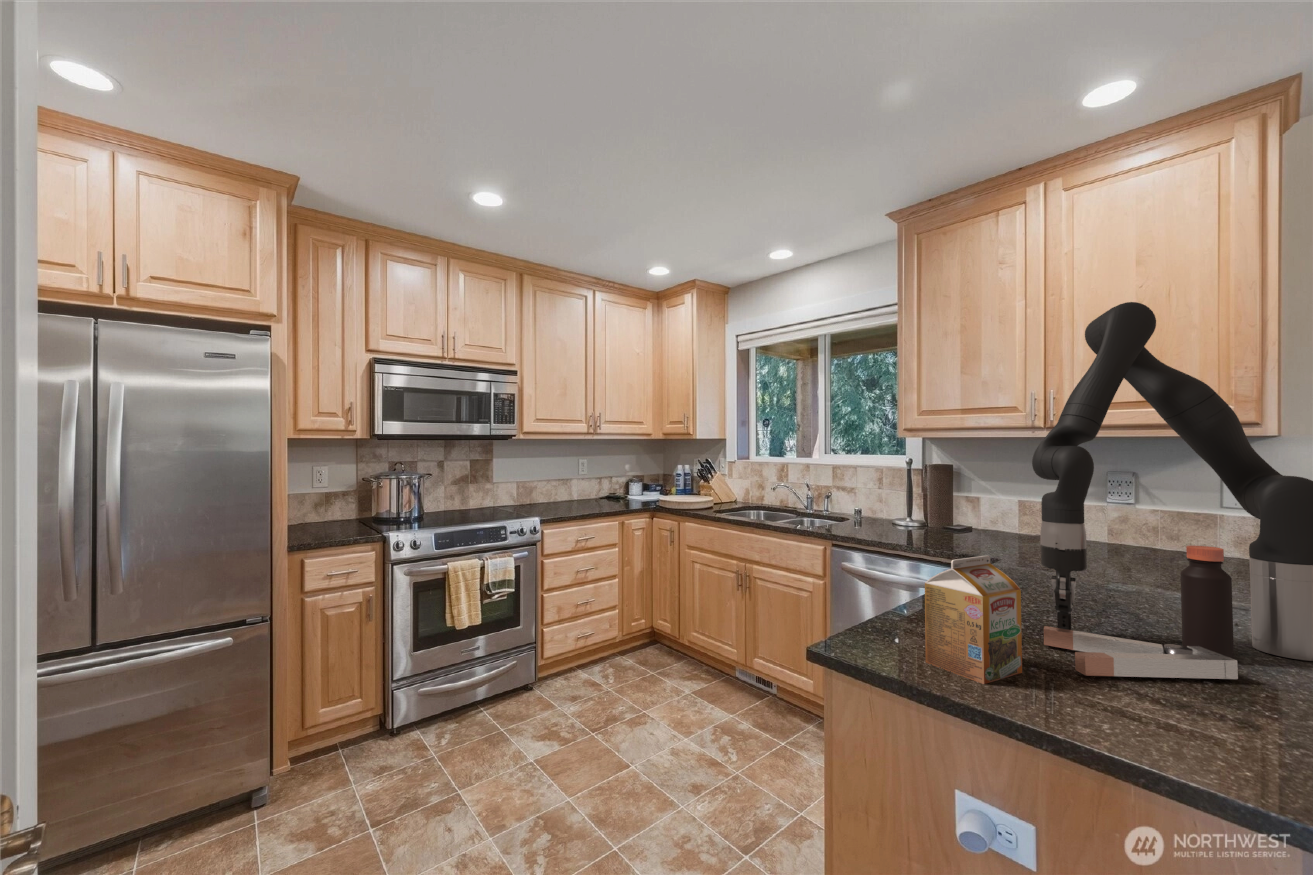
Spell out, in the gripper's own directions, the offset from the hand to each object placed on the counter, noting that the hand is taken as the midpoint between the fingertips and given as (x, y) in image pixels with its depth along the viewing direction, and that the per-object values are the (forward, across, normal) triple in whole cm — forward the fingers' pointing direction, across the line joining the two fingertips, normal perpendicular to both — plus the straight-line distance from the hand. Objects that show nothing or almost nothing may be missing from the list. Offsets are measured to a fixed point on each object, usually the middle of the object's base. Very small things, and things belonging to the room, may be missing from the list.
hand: (1064, 630), depth 112 cm
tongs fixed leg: (+1, +13, +11) cm, 17 cm away
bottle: (+2, -4, +21) cm, 22 cm away
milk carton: (+2, +29, -12) cm, 31 cm away
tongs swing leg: (+1, +8, +7) cm, 11 cm away
